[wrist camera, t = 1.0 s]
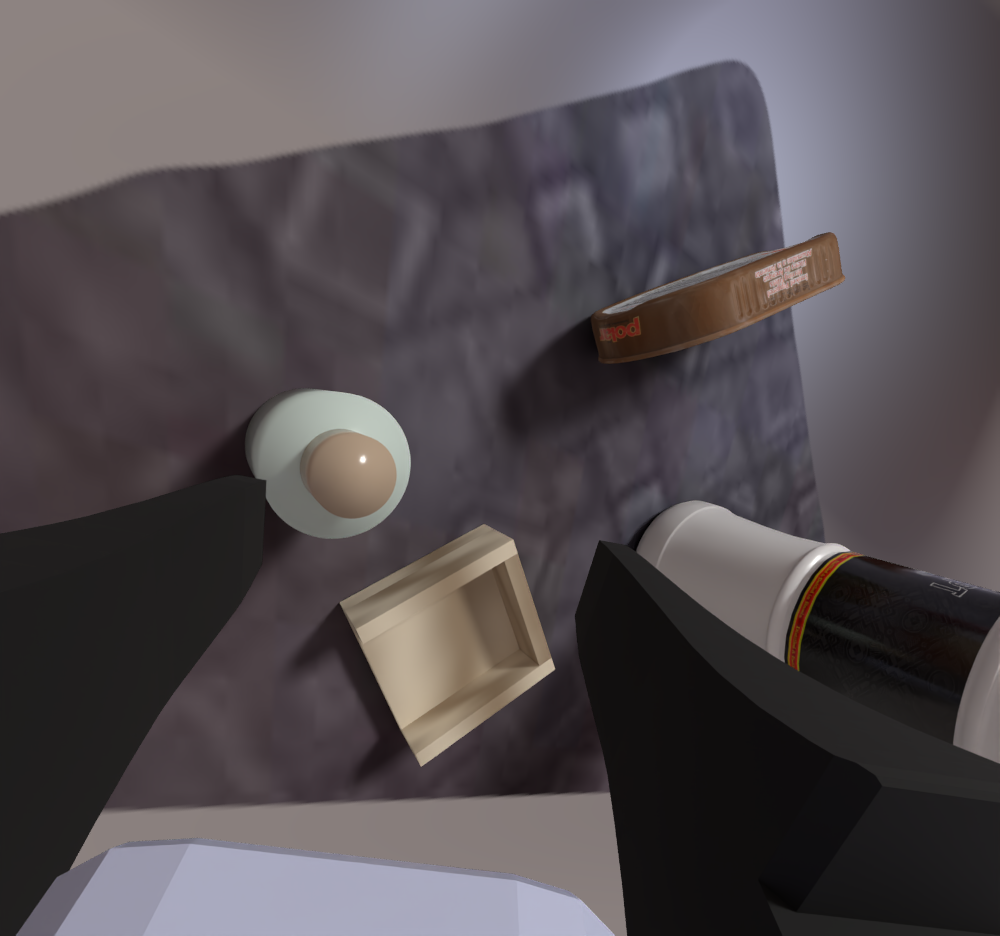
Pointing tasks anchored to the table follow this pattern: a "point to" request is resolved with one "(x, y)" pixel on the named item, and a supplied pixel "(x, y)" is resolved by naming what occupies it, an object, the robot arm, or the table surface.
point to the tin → (715, 301)
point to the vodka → (845, 619)
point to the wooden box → (451, 638)
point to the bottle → (328, 460)
